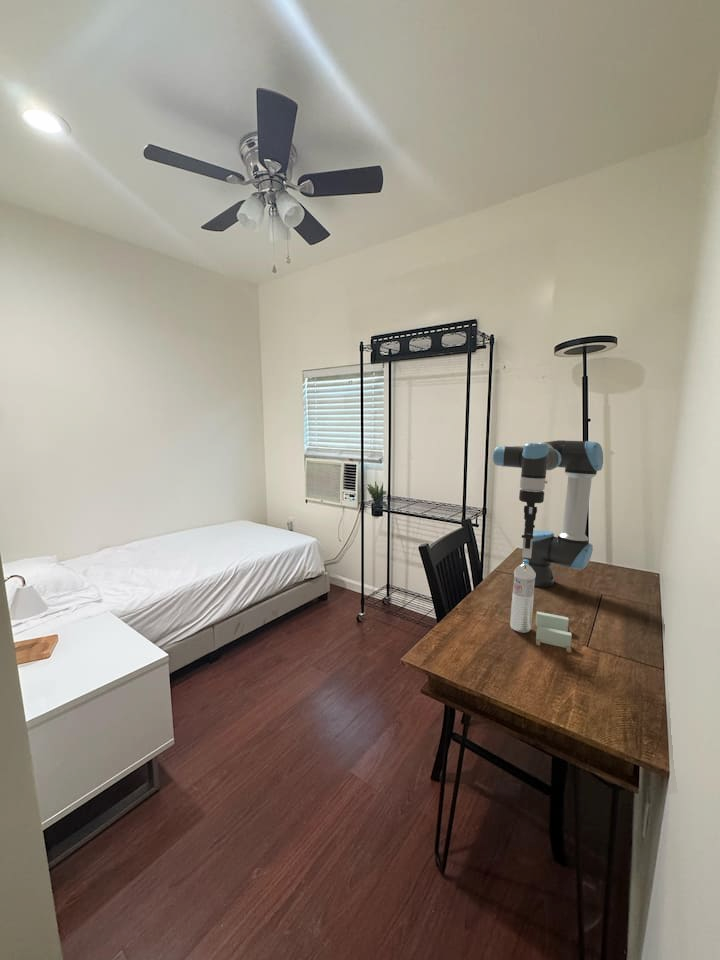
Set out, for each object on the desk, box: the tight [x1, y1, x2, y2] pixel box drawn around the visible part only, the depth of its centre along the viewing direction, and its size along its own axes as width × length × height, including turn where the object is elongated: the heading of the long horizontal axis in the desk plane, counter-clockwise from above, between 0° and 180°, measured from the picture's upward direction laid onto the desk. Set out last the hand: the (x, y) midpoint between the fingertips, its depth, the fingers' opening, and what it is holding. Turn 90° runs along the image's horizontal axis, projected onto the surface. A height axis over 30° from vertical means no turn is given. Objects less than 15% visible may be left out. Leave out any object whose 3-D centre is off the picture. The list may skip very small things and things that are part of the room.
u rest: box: [535, 611, 573, 653], centre depth 129 cm, size 10×18×4 cm, turn 156°
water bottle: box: [509, 559, 536, 634], centre depth 132 cm, size 7×7×25 cm
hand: (526, 551), depth 130 cm, fingers open, 13 cm apart
